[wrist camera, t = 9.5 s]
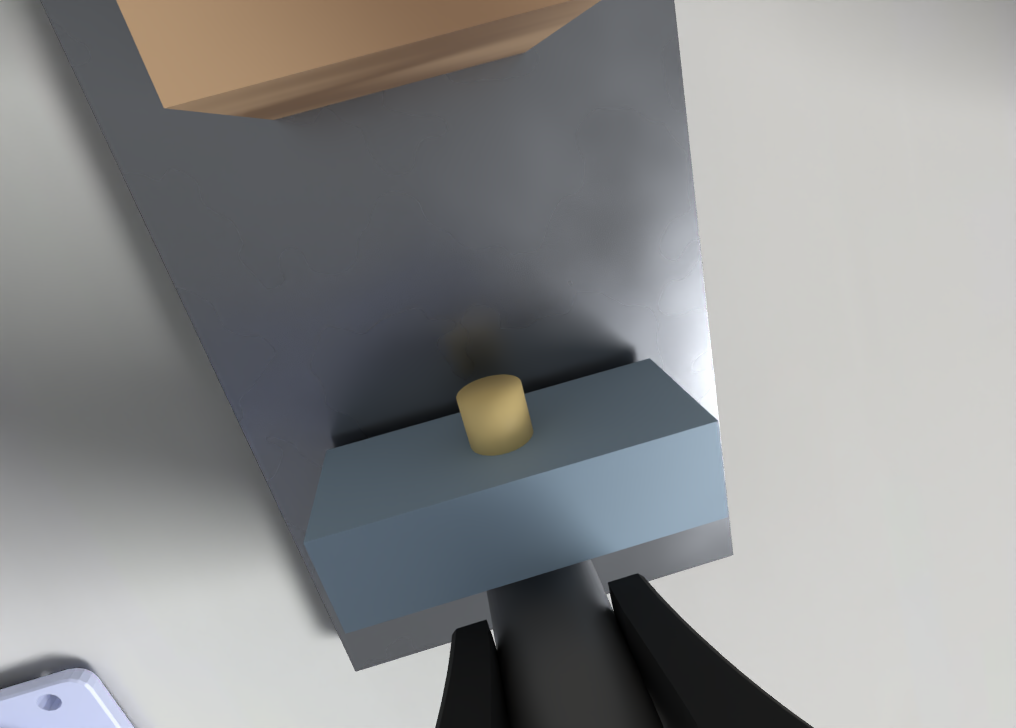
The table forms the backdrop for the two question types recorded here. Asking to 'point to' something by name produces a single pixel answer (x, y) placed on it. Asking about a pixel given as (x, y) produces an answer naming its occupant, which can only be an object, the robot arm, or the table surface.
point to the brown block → (323, 47)
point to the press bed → (425, 250)
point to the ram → (523, 526)
